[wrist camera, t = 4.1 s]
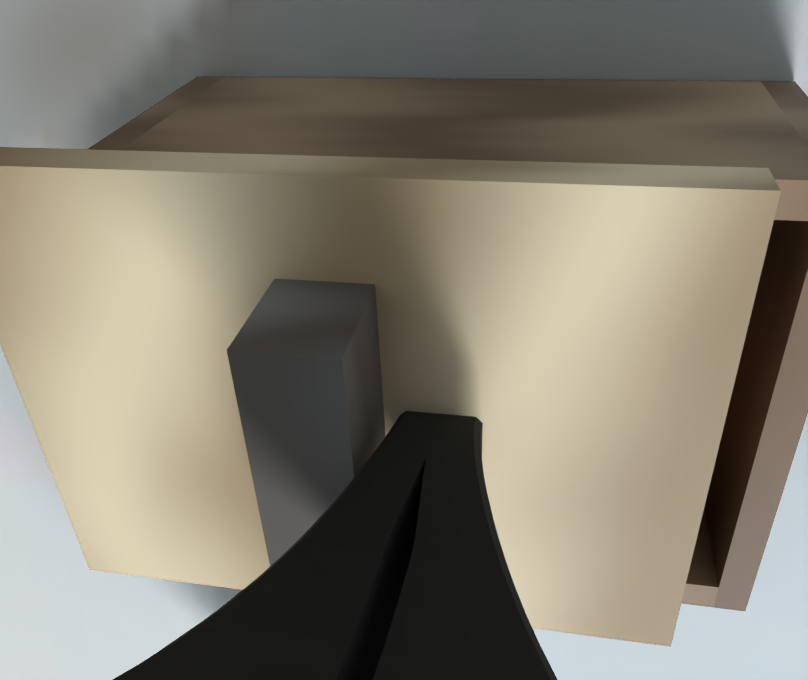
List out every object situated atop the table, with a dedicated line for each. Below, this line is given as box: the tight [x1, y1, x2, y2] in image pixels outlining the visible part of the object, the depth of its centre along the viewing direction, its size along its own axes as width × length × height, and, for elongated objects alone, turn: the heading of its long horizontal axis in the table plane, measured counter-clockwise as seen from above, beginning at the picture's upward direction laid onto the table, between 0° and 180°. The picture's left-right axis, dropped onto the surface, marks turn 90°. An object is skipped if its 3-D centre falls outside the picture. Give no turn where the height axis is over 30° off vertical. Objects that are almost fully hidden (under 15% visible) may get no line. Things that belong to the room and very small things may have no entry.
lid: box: [0, 147, 781, 647], centre depth 13 cm, size 12×9×3 cm
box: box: [87, 77, 808, 611], centre depth 16 cm, size 12×9×5 cm
